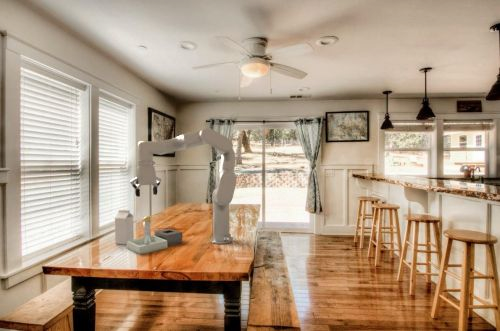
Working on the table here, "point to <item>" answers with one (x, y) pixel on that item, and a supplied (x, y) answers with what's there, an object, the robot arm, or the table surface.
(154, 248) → the tray
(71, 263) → the table surface
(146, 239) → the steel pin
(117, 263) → the table surface
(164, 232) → the hitch block
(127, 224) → the milk carton
